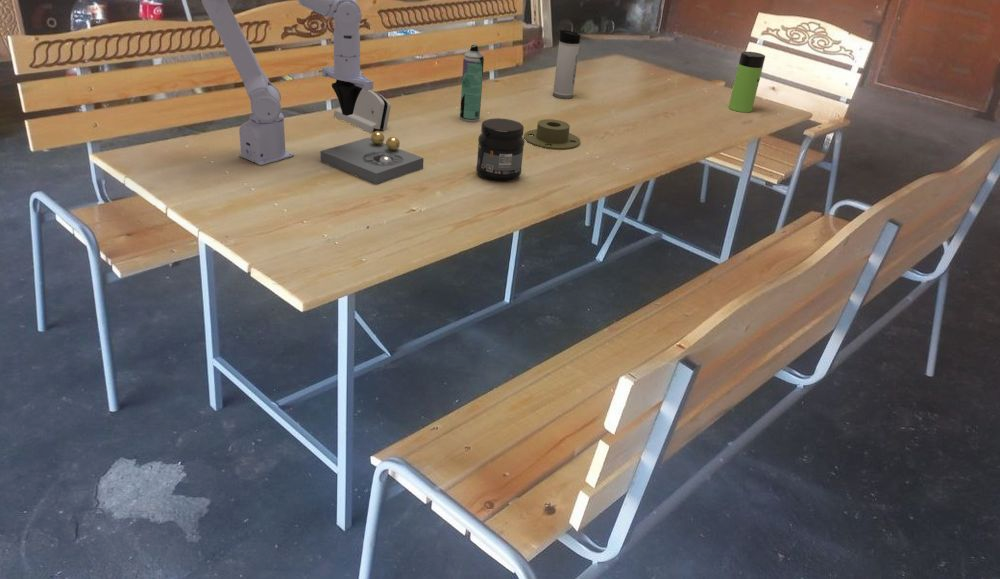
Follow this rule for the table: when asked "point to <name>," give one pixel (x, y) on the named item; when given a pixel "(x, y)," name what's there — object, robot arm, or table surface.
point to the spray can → (471, 85)
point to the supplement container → (500, 150)
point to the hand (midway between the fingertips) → (347, 114)
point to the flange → (552, 135)
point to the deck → (371, 160)
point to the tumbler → (746, 81)
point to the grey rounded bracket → (368, 111)
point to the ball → (385, 159)
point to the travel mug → (566, 64)
